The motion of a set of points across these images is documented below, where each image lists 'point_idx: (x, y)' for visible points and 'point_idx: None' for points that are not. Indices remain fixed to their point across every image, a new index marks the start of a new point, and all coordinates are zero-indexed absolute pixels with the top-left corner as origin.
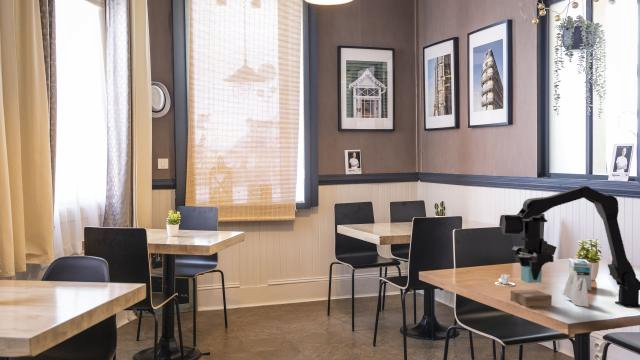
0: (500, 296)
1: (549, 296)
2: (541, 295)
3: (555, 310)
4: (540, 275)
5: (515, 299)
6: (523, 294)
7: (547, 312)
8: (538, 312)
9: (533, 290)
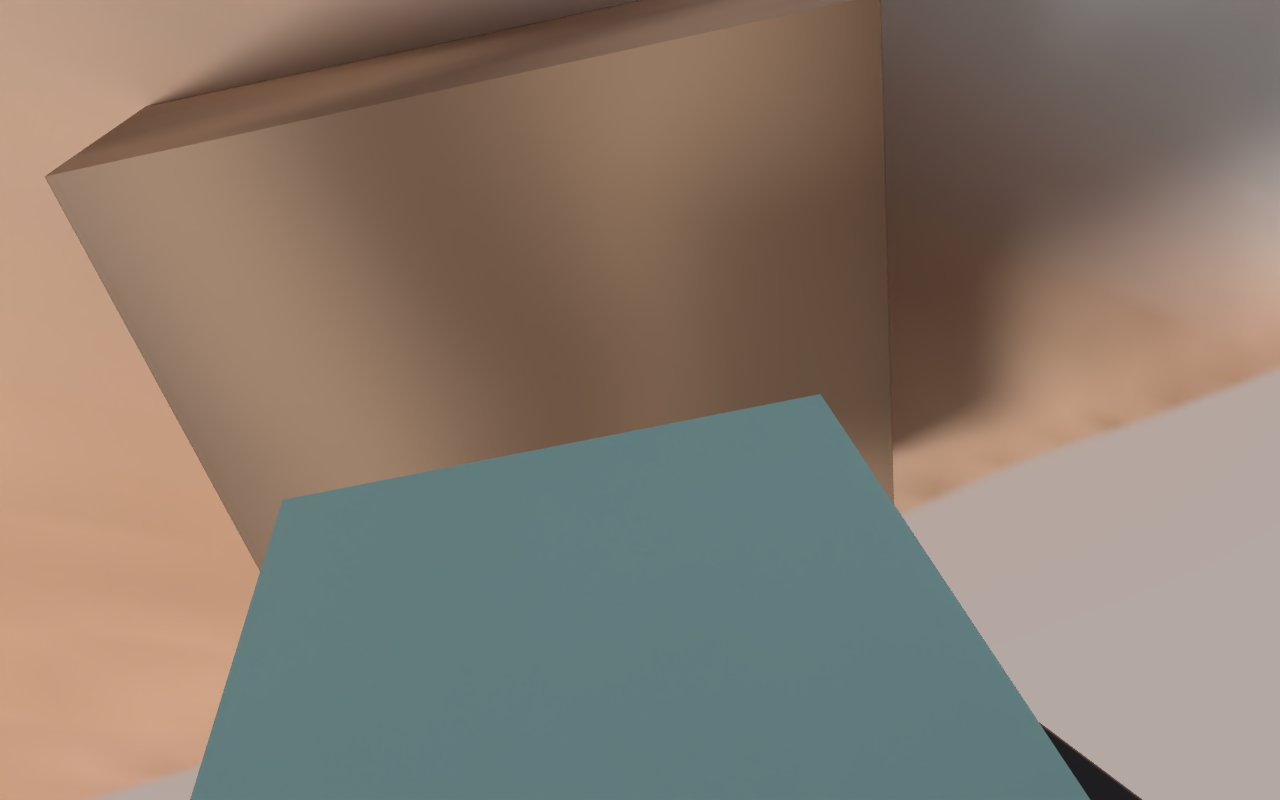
0: (73, 672)
1: (870, 62)
2: (840, 275)
3: (1136, 53)
4: (935, 614)
5: None
6: None
7: (1195, 256)
8: (1147, 388)
9: (255, 287)
